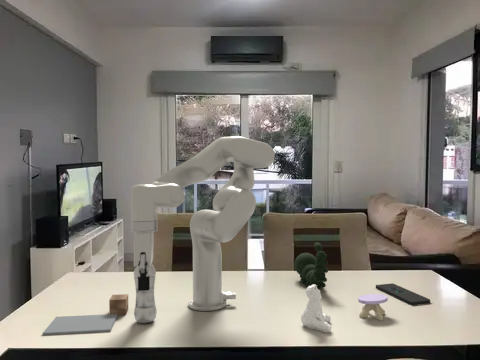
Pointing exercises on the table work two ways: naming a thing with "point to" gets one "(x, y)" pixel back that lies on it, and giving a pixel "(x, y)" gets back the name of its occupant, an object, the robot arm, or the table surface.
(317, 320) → the seated beast figurine
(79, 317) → the slate mat
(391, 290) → the smart home device
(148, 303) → the plastic bottle
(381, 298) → the toy table
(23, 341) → the table surface
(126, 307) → the walnut block
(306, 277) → the toy figurine
